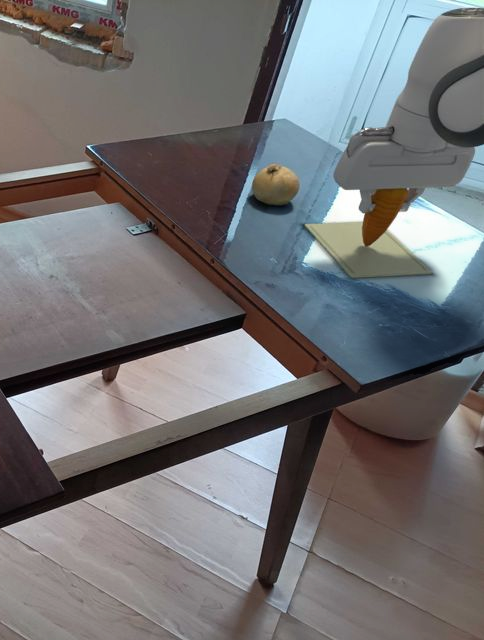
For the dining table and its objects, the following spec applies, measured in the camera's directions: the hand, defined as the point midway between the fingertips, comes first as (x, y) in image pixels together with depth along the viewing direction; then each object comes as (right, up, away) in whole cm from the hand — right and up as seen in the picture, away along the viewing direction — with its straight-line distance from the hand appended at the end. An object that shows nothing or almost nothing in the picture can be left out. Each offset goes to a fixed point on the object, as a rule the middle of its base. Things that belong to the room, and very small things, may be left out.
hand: (382, 210), depth 109 cm
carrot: (0, -5, +4) cm, 7 cm away
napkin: (0, -5, +5) cm, 7 cm away
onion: (-12, +5, +16) cm, 21 cm away
